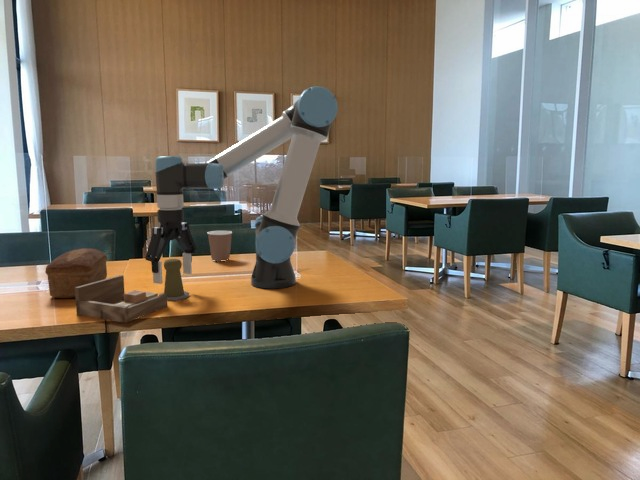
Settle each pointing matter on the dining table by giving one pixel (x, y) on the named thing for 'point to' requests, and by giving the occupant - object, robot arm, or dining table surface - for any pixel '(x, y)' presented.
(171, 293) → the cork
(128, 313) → the tray
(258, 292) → the dining table surface
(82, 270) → the bread
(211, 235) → the coffee cup
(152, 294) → the offcut
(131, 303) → the offcut
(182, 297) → the coaster
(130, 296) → the offcut
